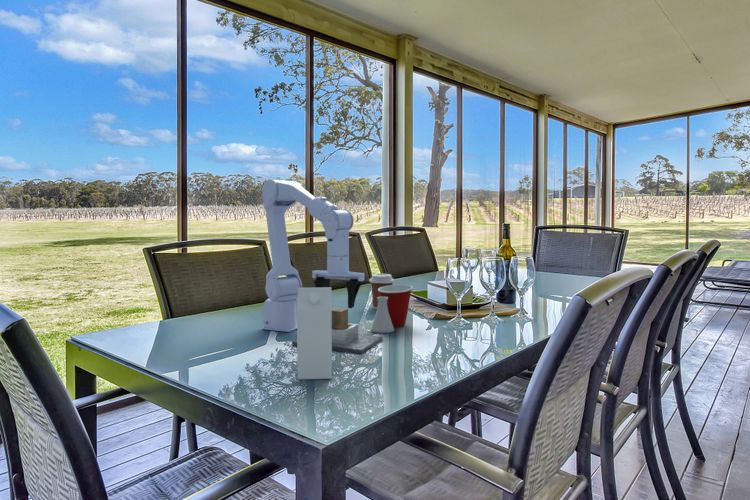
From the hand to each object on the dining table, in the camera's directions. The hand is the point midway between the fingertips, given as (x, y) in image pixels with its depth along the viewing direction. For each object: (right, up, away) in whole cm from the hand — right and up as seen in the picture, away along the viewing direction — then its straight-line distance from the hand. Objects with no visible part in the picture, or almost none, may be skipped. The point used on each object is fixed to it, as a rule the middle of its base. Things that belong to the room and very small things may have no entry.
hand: (338, 306), depth 134 cm
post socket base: (0, -10, +1) cm, 10 cm away
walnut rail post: (0, -9, +1) cm, 9 cm away
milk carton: (-3, -12, -25) cm, 28 cm away
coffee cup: (+12, -6, +49) cm, 51 cm away
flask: (+12, -9, +14) cm, 21 cm away
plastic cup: (+16, -8, +21) cm, 28 cm away
